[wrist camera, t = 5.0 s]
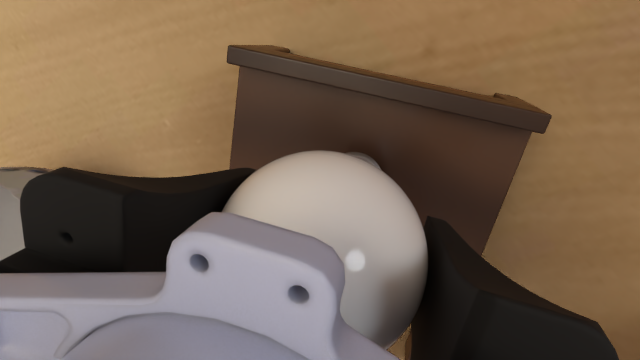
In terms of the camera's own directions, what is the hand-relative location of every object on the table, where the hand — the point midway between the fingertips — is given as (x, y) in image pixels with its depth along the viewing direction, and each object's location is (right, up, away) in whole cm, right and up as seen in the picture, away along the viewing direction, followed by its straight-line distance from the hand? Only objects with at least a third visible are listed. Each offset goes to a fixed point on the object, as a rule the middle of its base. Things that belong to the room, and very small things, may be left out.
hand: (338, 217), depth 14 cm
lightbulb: (+1, +2, +5) cm, 5 cm away
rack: (+1, -1, +10) cm, 11 cm away
